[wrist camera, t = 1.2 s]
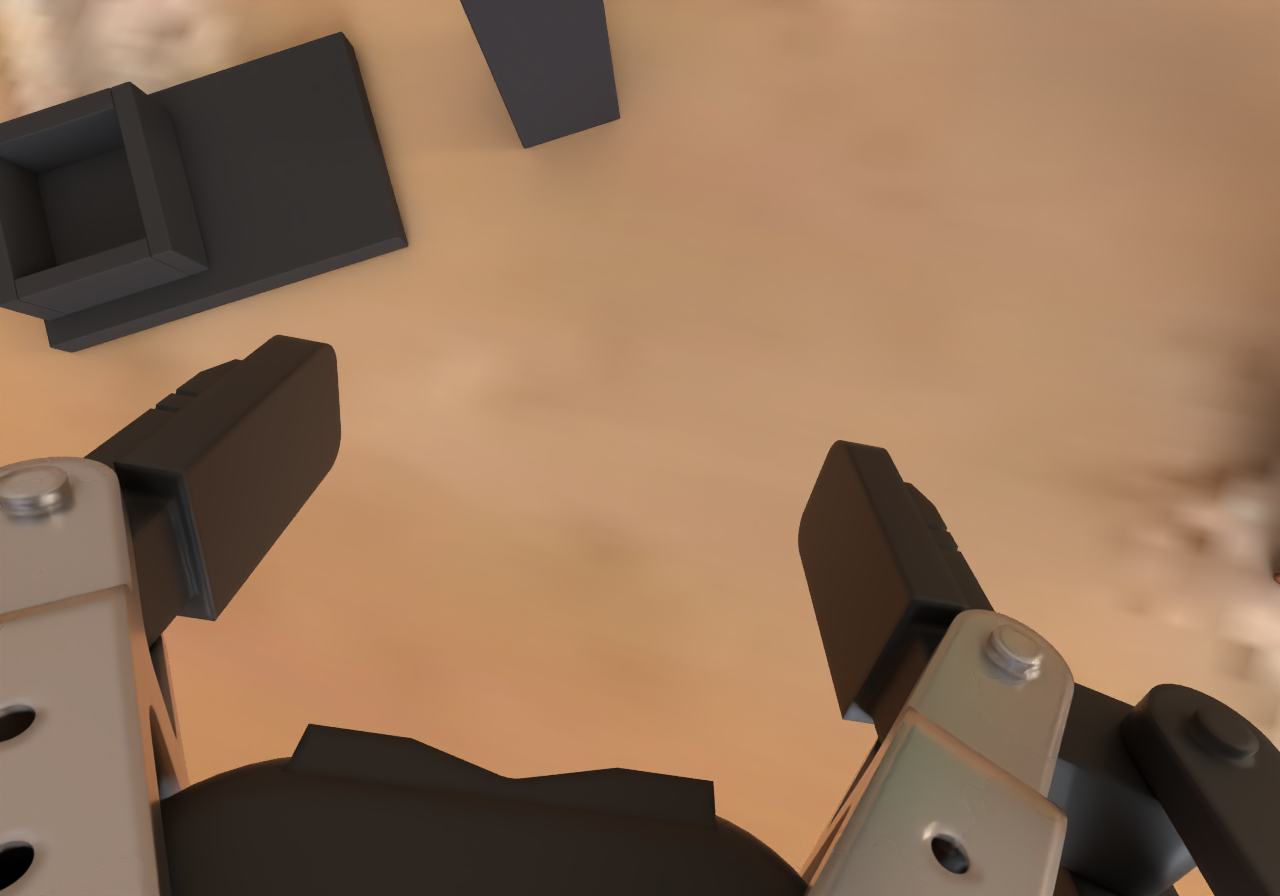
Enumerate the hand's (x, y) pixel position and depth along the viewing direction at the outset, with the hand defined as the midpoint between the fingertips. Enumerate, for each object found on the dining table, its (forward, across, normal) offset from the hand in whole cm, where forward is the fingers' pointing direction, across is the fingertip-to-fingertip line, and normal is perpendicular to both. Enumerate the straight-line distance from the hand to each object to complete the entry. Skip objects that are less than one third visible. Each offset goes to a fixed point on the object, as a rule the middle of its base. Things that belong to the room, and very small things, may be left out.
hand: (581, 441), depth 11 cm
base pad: (+25, +21, +6) cm, 33 cm away
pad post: (+28, +5, -2) cm, 29 cm away
